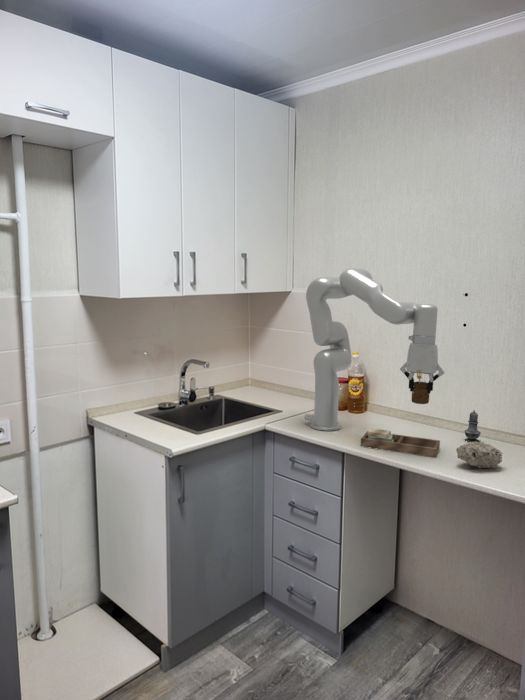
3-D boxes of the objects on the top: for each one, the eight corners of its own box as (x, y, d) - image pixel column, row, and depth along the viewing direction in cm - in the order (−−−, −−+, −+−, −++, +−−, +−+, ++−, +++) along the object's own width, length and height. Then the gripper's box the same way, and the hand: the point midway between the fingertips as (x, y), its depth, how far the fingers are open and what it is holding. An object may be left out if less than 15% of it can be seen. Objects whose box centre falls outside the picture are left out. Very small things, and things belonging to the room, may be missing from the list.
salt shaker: (481, 443, 200) (484, 412, 198) (464, 442, 201) (467, 411, 200) (478, 439, 206) (480, 408, 204) (462, 438, 207) (464, 407, 205)
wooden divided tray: (360, 446, 194) (360, 438, 194) (367, 438, 204) (368, 430, 204) (435, 457, 183) (436, 449, 183) (439, 448, 193) (440, 440, 193)
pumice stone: (473, 475, 168) (475, 450, 167) (446, 462, 179) (448, 439, 178) (506, 469, 173) (509, 445, 172) (479, 458, 184) (481, 435, 183)
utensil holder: (431, 402, 190) (433, 368, 189) (425, 405, 185) (427, 371, 183) (414, 399, 193) (416, 366, 192) (408, 402, 188) (410, 369, 187)
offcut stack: (364, 446, 195) (365, 431, 194) (369, 441, 201) (369, 427, 200) (390, 450, 191) (390, 435, 191) (393, 444, 197) (394, 430, 197)
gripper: (396, 339, 186) (393, 390, 189) (448, 343, 179) (444, 396, 182) (400, 337, 193) (397, 387, 196) (451, 341, 186) (447, 392, 189)
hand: (420, 391), depth 189 cm, fingers closed on utensil holder, 5 cm apart
